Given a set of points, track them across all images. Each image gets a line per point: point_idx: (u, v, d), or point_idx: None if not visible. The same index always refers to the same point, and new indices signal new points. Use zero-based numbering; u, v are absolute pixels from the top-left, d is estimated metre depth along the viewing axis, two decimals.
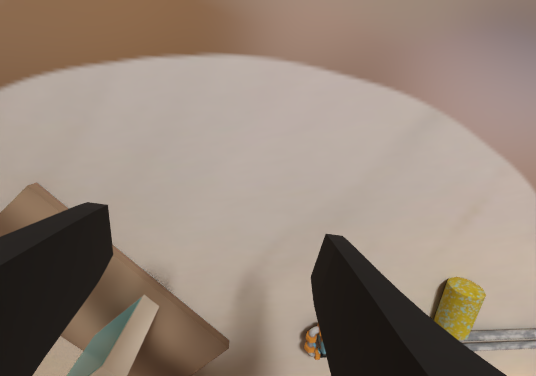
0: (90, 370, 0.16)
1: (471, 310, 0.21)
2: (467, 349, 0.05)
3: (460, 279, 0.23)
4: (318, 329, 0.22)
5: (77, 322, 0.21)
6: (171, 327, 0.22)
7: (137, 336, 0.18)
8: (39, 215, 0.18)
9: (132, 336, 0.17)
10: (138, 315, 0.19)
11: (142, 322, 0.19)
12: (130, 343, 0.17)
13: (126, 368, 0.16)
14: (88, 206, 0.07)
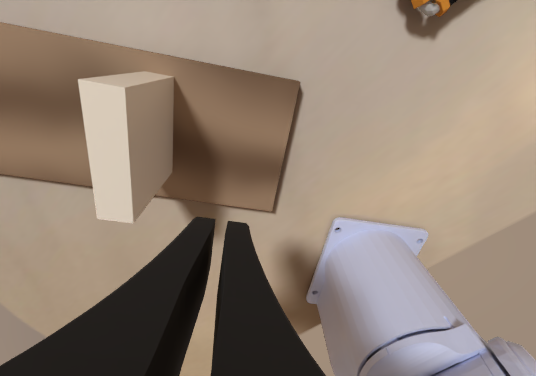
0: None
1: None
2: (296, 334, 0.04)
3: None
4: None
5: None
6: (211, 99, 0.15)
7: (141, 79, 0.12)
8: None
9: (131, 78, 0.11)
10: (138, 74, 0.13)
11: (147, 77, 0.13)
12: (129, 79, 0.11)
13: (126, 84, 0.10)
14: (202, 221, 0.08)
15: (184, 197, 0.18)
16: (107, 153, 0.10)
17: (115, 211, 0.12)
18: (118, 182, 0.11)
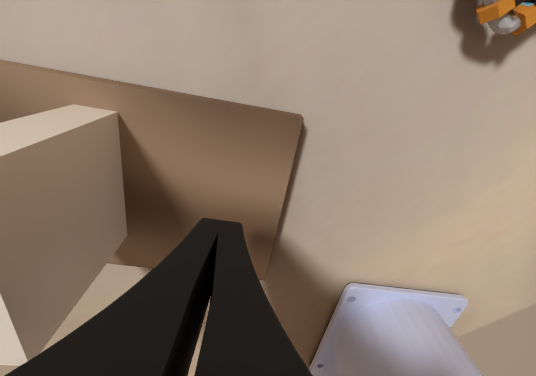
0: None
1: None
2: (285, 333, 0.04)
3: None
4: None
5: None
6: (174, 142, 0.11)
7: (38, 130, 0.07)
8: None
9: (19, 130, 0.07)
10: (49, 116, 0.08)
11: (61, 120, 0.08)
12: (8, 136, 0.06)
13: None
14: (209, 222, 0.08)
15: (146, 265, 0.13)
16: None
17: None
18: None
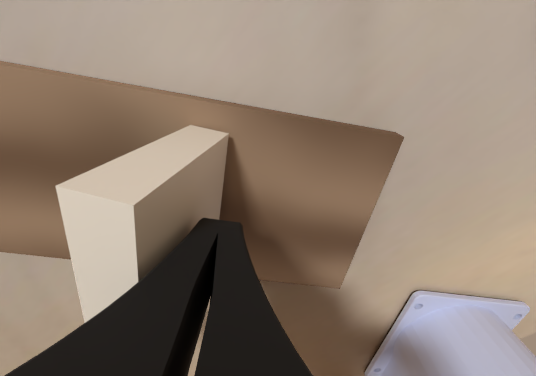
0: None
1: None
2: (284, 332, 0.04)
3: None
4: None
5: None
6: (278, 159, 0.11)
7: (177, 154, 0.07)
8: None
9: (162, 154, 0.07)
10: (178, 138, 0.09)
11: (189, 143, 0.08)
12: (156, 161, 0.07)
13: (142, 188, 0.05)
14: (209, 222, 0.08)
15: None
16: (106, 293, 0.06)
17: None
18: None
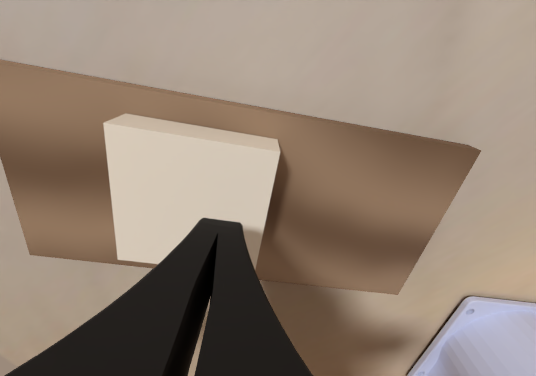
0: None
1: None
2: None
3: None
4: None
5: None
6: (357, 172, 0.11)
7: (191, 132, 0.09)
8: (34, 102, 0.10)
9: (187, 129, 0.10)
10: (231, 134, 0.10)
11: (223, 136, 0.10)
12: (173, 128, 0.09)
13: (126, 124, 0.09)
14: (209, 222, 0.08)
15: (293, 281, 0.14)
16: None
17: None
18: None
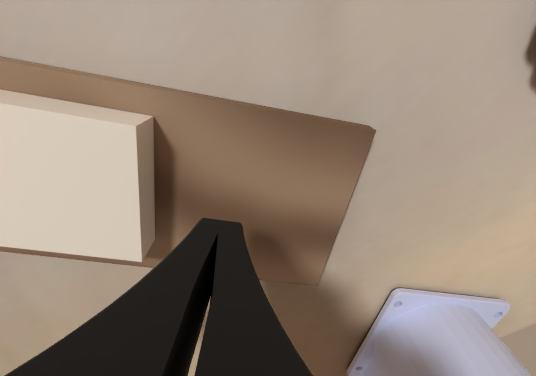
0: None
1: None
2: (284, 332, 0.04)
3: None
4: None
5: None
6: (247, 153, 0.11)
7: (41, 105, 0.09)
8: None
9: (42, 102, 0.09)
10: (96, 109, 0.09)
11: (79, 110, 0.09)
12: (24, 100, 0.09)
13: None
14: (209, 222, 0.08)
15: None
16: None
17: None
18: None
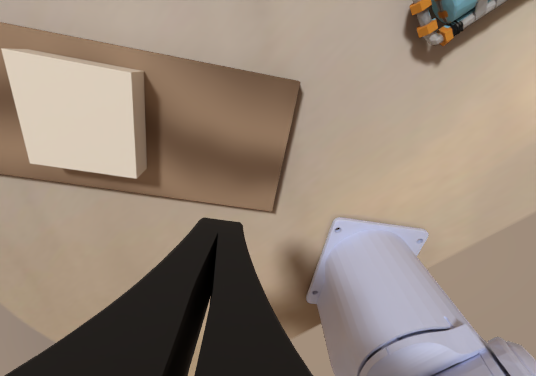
0: None
1: None
2: (285, 333, 0.04)
3: None
4: None
5: None
6: (211, 99, 0.15)
7: (69, 59, 0.13)
8: None
9: (69, 58, 0.13)
10: (104, 64, 0.14)
11: (94, 64, 0.13)
12: (58, 57, 0.13)
13: (19, 51, 0.13)
14: (209, 222, 0.08)
15: (184, 197, 0.18)
16: None
17: None
18: None
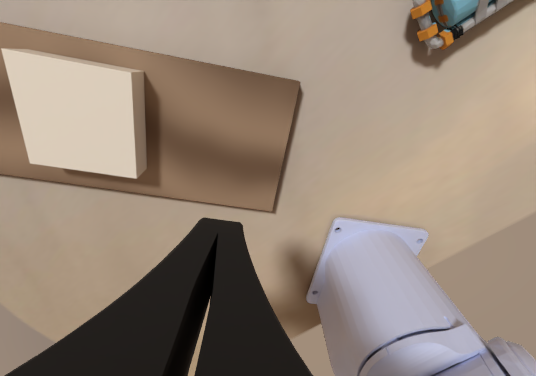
0: None
1: None
2: (285, 333, 0.04)
3: None
4: None
5: None
6: (211, 99, 0.15)
7: (69, 59, 0.13)
8: None
9: (69, 58, 0.13)
10: (104, 64, 0.14)
11: (94, 64, 0.13)
12: (58, 57, 0.13)
13: (19, 51, 0.13)
14: (209, 222, 0.08)
15: (184, 197, 0.18)
16: None
17: None
18: None
